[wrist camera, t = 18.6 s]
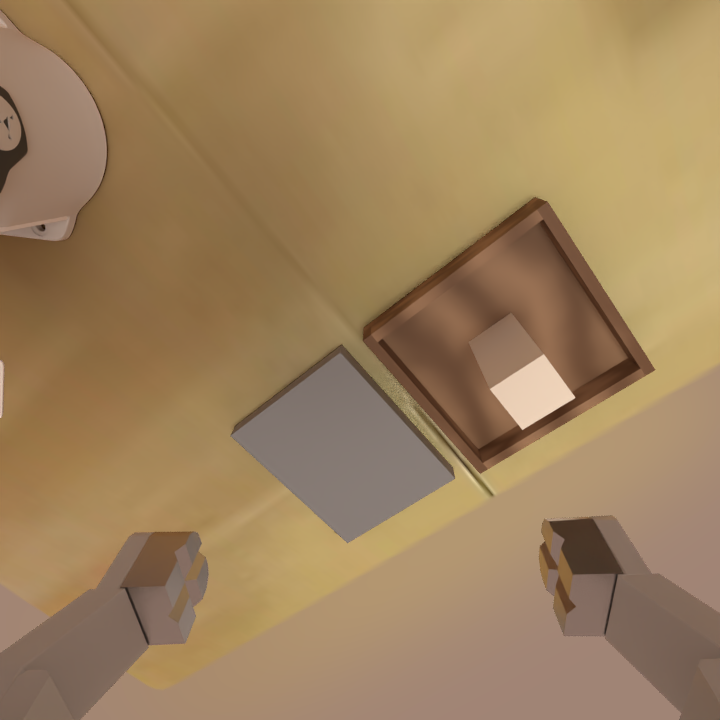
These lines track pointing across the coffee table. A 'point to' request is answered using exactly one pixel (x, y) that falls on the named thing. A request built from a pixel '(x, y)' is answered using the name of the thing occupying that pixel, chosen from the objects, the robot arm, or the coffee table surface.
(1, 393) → the cell phone
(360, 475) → the board
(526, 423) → the tall cream pillar block
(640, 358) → the box
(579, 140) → the coffee table surface
